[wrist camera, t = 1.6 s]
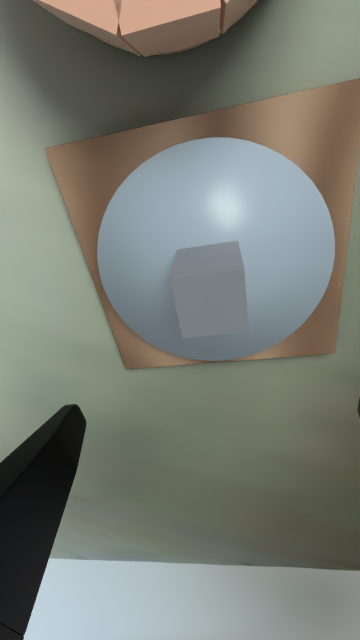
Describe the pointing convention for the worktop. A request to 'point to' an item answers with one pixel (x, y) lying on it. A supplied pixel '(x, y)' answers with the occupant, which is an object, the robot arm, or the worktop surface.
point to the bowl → (150, 21)
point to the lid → (216, 249)
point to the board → (242, 123)
